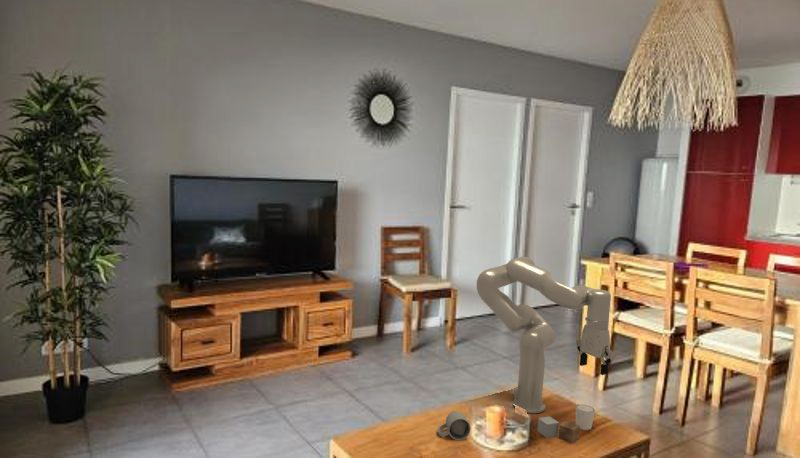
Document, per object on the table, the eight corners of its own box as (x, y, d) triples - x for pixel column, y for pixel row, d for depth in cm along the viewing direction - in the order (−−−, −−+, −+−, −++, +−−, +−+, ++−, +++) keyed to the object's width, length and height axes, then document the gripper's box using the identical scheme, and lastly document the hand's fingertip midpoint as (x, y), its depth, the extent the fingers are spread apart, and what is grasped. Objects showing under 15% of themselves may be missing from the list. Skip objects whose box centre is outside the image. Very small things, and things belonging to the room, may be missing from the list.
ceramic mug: (464, 428, 192) (465, 408, 191) (470, 440, 184) (471, 418, 183) (435, 429, 191) (436, 408, 190) (439, 441, 183) (440, 419, 182)
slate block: (537, 431, 193) (538, 418, 193) (548, 429, 195) (550, 416, 195) (546, 438, 189) (547, 424, 188) (557, 436, 191) (559, 422, 190)
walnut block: (558, 438, 189) (559, 424, 188) (565, 433, 193) (566, 420, 192) (572, 443, 186) (573, 430, 185) (578, 439, 189) (579, 425, 189)
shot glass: (597, 429, 197) (599, 411, 196) (582, 431, 195) (584, 413, 194) (584, 420, 204) (586, 403, 203) (569, 423, 201) (571, 405, 200)
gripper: (571, 318, 201) (568, 363, 203) (609, 331, 186) (604, 379, 188) (586, 316, 204) (582, 360, 206) (624, 329, 189) (619, 376, 191)
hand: (593, 369), depth 197 cm, fingers open, 9 cm apart
